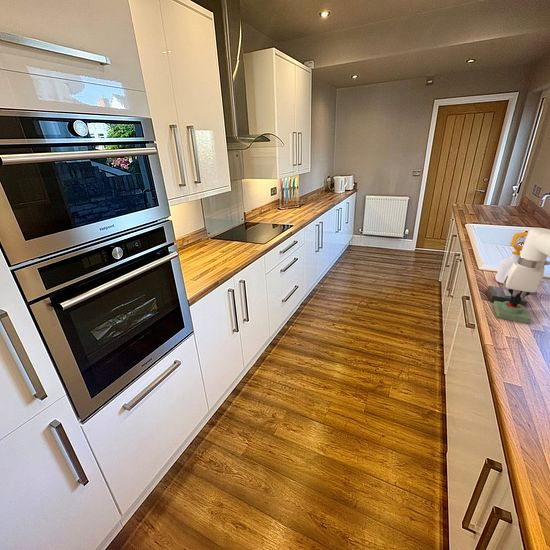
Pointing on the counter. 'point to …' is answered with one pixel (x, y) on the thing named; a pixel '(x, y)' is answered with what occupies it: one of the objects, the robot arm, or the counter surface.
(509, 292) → the tap handle
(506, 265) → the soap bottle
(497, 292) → the plate
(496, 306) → the button box
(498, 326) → the counter surface
